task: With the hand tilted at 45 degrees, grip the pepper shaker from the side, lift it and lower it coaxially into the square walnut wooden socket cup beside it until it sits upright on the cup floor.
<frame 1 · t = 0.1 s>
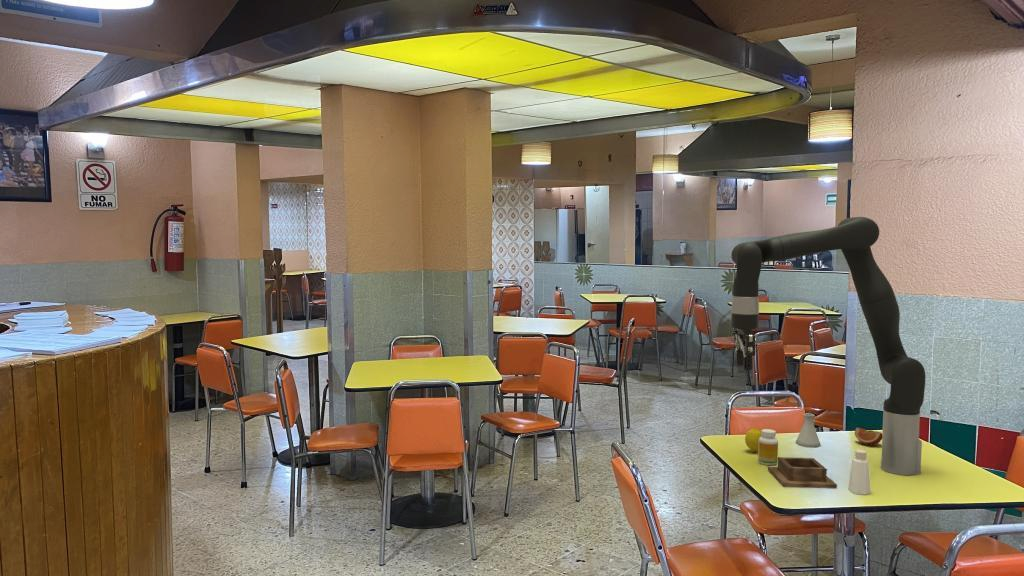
hand: (743, 367, 205), 29 cm above the table, tool pointing down, fingers open, 8 cm apart
flask: (808, 445, 230), on the table
pepper shaker: (859, 492, 186), on the table
supplement bottle: (767, 463, 210), on the table
fruit slice: (868, 445, 231), on the table
socket cup: (801, 478, 196), on the table
fruit: (753, 452, 221), on the table
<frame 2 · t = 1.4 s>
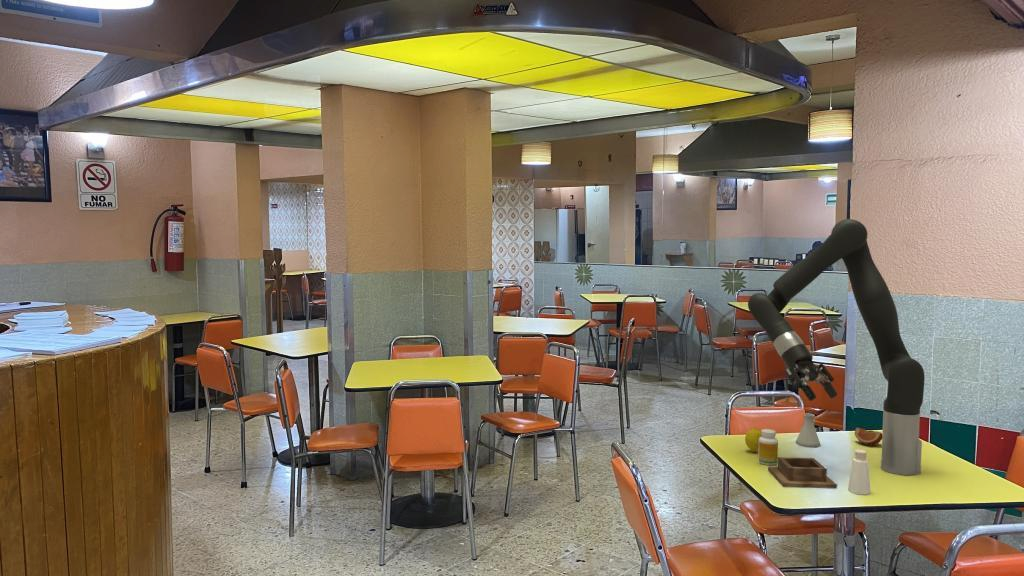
hand: (824, 397, 196), 23 cm above the table, tool tilted 45°, fingers open, 8 cm apart
nothing on the table moved.
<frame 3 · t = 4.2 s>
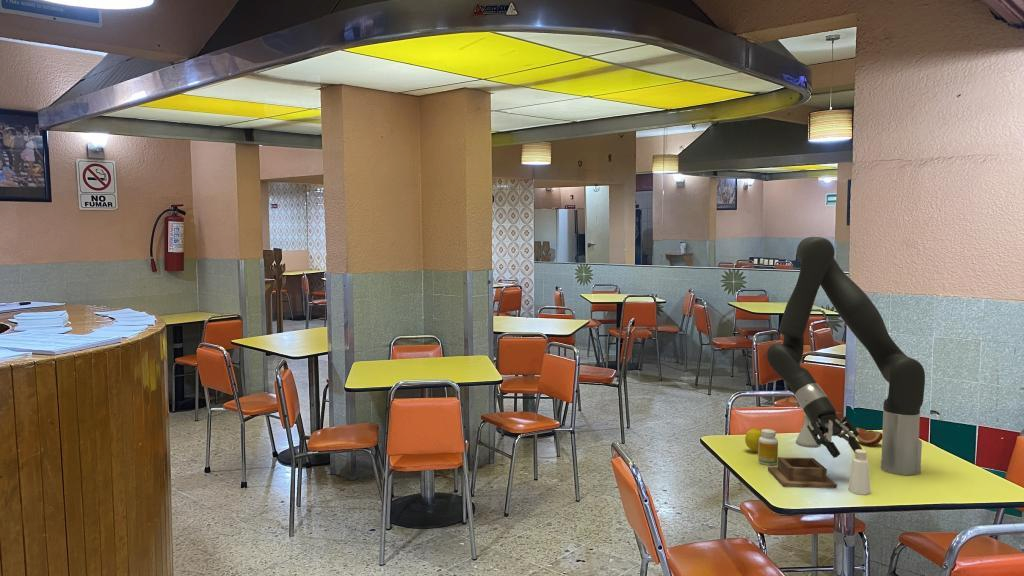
hand: (848, 454, 189), 9 cm above the table, tool tilted 45°, fingers open, 8 cm apart
nothing on the table moved.
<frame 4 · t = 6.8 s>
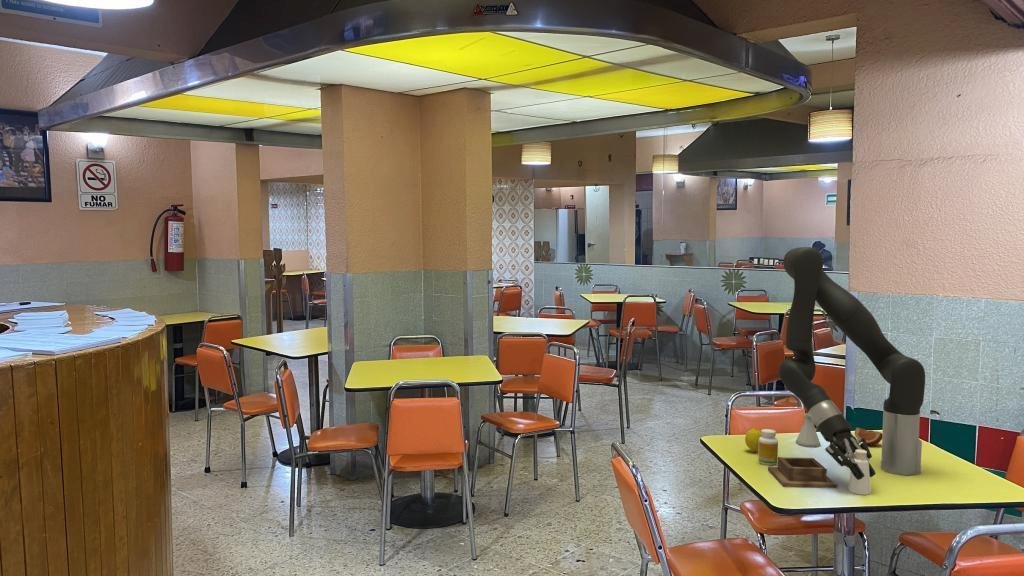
hand: (866, 476, 184), 5 cm above the table, tool tilted 45°, fingers closed on pepper shaker, 3 cm apart
pepper shaker: (859, 492, 186), on the table, touching gripper
everything else where it was.
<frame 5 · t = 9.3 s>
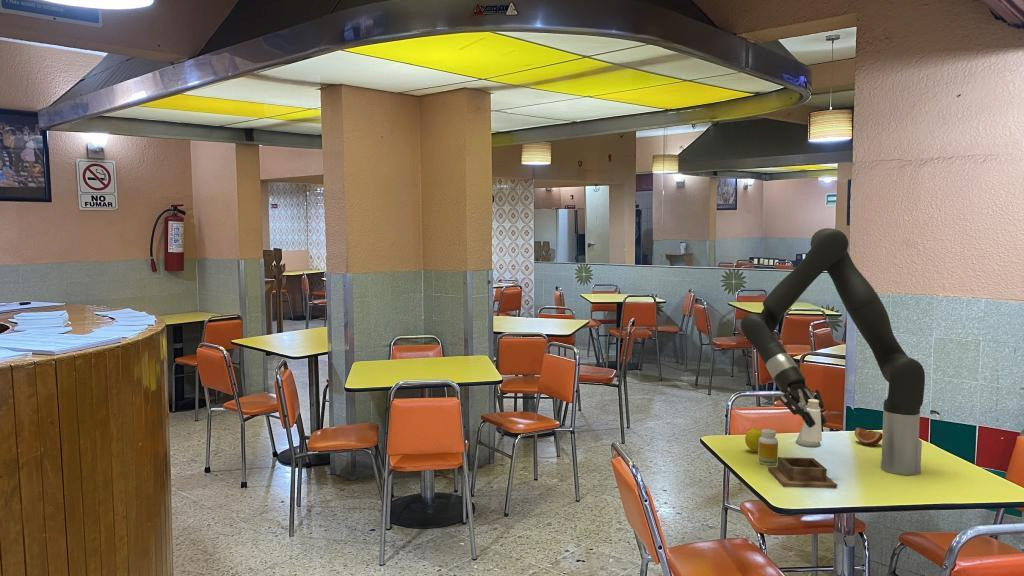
hand: (818, 424, 192), 16 cm above the table, tool tilted 45°, fingers closed on pepper shaker, 3 cm apart
pepper shaker: (811, 440, 194), point 11 cm above the table, touching gripper
everything else where it was.
when the fingers open (7 cm above the table, at t = 12.1 s): pepper shaker drops 1 cm, resting on socket cup.
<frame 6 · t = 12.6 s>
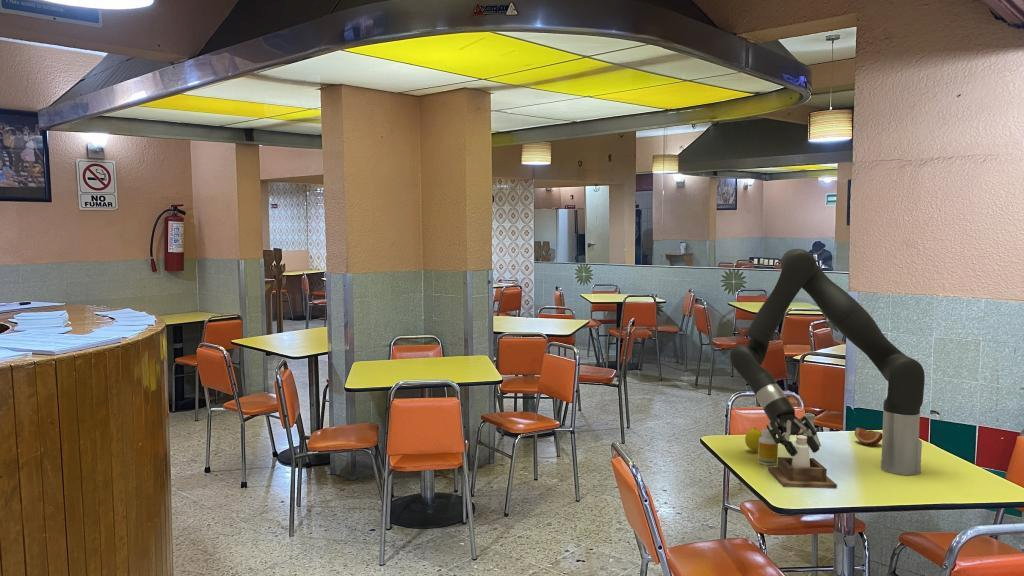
hand: (805, 453, 194), 8 cm above the table, tool tilted 45°, fingers open, 8 cm apart
pepper shaker: (800, 475, 196), point 1 cm above the table, touching socket cup
everything else where it was.
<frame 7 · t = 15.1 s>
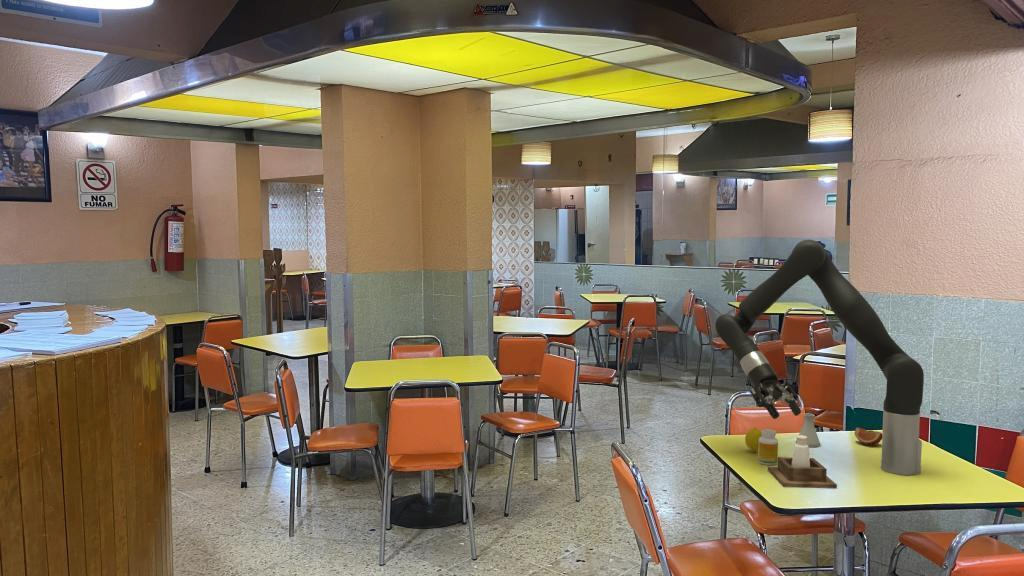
hand: (787, 415, 202), 16 cm above the table, tool tilted 45°, fingers open, 8 cm apart
nothing on the table moved.
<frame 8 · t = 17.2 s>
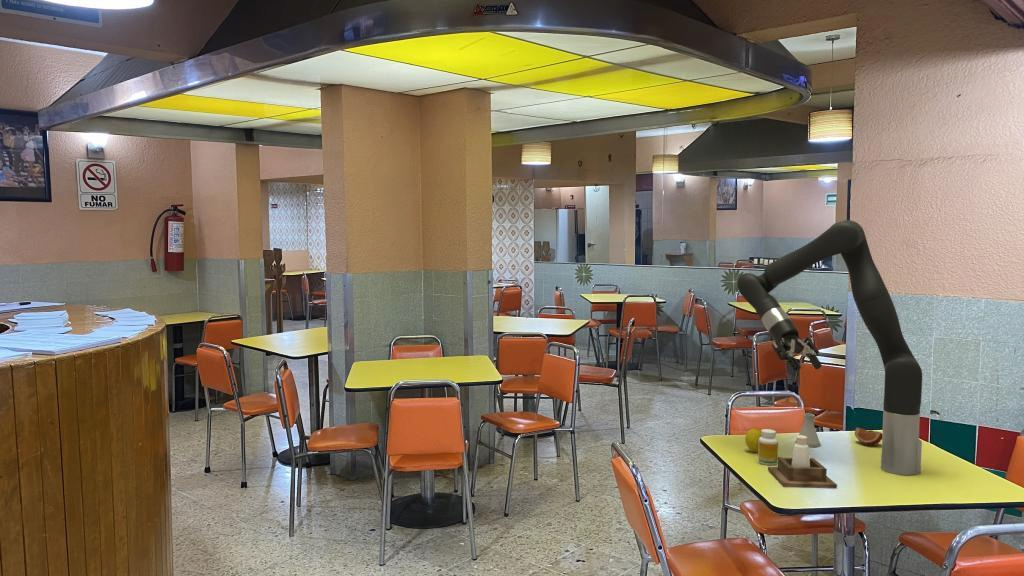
hand: (809, 368, 207), 29 cm above the table, tool tilted 45°, fingers open, 8 cm apart
nothing on the table moved.
at the end: pepper shaker 0.2 cm off-centre on the socket cup, point 0.8 cm above the socket cup's base; pepper shaker tilted 0°; the gripper is holding nothing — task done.
